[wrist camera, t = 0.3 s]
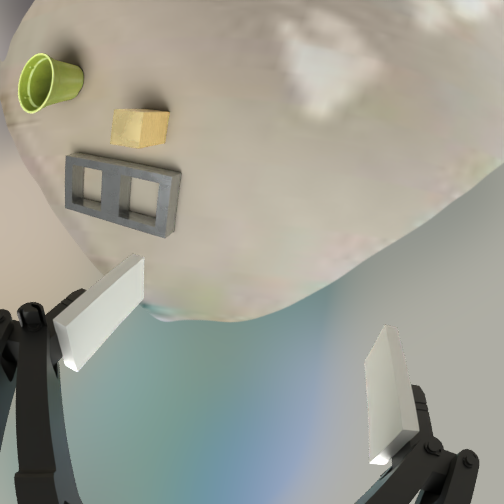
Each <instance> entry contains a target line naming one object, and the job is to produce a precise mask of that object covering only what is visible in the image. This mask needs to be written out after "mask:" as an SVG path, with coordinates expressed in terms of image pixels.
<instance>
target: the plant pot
mask: <svg viewBox="0 0 504 504" xmlns="http://www.w3.org/2000/svg"><path fill="white" fill-rule="evenodd" d="M82 85H83V72H82V70H81V69H80V68H79V67H78V66H76V65H72V64H69V63H65V62H61V61H57V60H54V59H53V58H51V57H49V56H48V55H47V54H44V53H39V54H36V55H34V56H33V57H32V58H31V59H29V61H28V62H27V63H26V65H25V66H24V68H23V70H22V73H21V76H20V79H19V85H18V97H19V101H20V104H21V107H22V108H23V110H24V111H26V112H27V113H36V112H38V111H39V110H41V109H42V108H44V107H46V106H48V105H51V104H55V103H58V102H62V101H67V100H71V99H73V98H75V97H76V96H77V95H78V92H79V91H80V89H81V88H82Z"/></svg>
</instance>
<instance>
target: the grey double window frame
mask: <svg viewBox="0 0 504 504" xmlns="http://www.w3.org/2000/svg"><path fill="white" fill-rule="evenodd" d="M84 167H87V168H92V169H97V170H102V190H101V203H99V202H96V201H92V200H89V199H85V198H83V186H84ZM131 177H134V178H139V179H143V180H148V181H152V182H156V183H159V191H158V201H157V211H156V218H153V217H150V216H146V215H143V214H139V213H136V212H132V211H129V203H130V189H131ZM180 180H181V173H180V172H175V171H171V170H166V169H161V168H157V167H152V166H147V165H142V164H137V163H132V162H127V161H122V160H116V159H111V158H106V157H100V156H94V155H89V154H83V153H74V154H70V155H67V156H66V164H65V208H67V209H70V210H74V211H77V212H80V213H83V214H87V215H90V216H93V217H96V218H99V219H103V220H106V221H109V222H113V223H116V224H119V225H122V226H126V227H129V228H132V229H135V230H139V231H142V232H145V233H149V234H152V235H155V236H159V237H162V238H166V237H167V236H169V235H170V234H171V233H172V232H174V227H175V218H176V210H177V202H178V194H179V187H180Z"/></svg>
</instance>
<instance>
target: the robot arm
mask: <svg viewBox="0 0 504 504" xmlns="http://www.w3.org/2000/svg"><path fill="white" fill-rule="evenodd" d="M143 299H144V257H143V256H140V255H136V254H133V253H132V254H131V255H130V256H129V257H127V258H126V259H125V260H123V261H122V262H121V263H120V264H118V265H117V266H116V267H115V268H113V269H112V270H111V271H110V272H108V273H107V274H106V275H105V276H104V277H103V278H101V279H100V280H99V281H98V282H96V283H95V284H94V285H93V286H91V287H90V288H89V289H88V290H85V289H79V290H77V291H74V292H72V293H71V294H70V295H69V296H68V297H67V298H66V299H64V300H63V301H61V303H59V304H58V305H57V306H55V307H54V308H53V309H52V310H51V311H50V312H48V313H47V314H46V315H45V313H44V309H43V306H42V305H41V304H39V303H36V302H30V303H26V304H24V305H22V306H21V307H20V308H19V309H18V311H17V314H18V318H19V321H16V320H12V317H11V314H10V312H9V311H7V310H4V309H0V450H1V445H2V440H3V435H4V431H5V426H6V422H7V418H8V414H9V410H10V406H11V402H12V399H13V395H14V392H15V388H16V435H17V450H18V462H19V471H18V472H17V473H15V477H14V480H15V489H16V496H17V501H18V504H83V503H82V501H81V499H80V497H79V494H78V491H77V487H76V483H75V478H74V474H73V469H72V465H71V460H70V454H69V449H68V443H67V437H66V430H65V423H64V415H63V406H62V396H61V384H60V369H59V363H58V361H59V360H60V359H61V358H62V357H63V360H64V363H65V365H66V366H68V367H69V368H71V369H73V370H74V371H76V372H78V371H79V370H80V369H81V368H82V367H83V365H84V364H85V363H86V362H87V361H88V359H89V358H90V357H91V356H92V355H93V354H94V352H96V350H97V349H98V348H99V347H100V346H101V345H102V344H103V343H104V341H105V340H106V339H107V338H108V337H109V336H110V334H112V332H113V331H114V330H115V329H116V328H117V327H118V326H119V325H120V324H121V323H122V321H123V320H124V319H125V318H126V317H127V316H128V315H129V314H130V313H131V312H132V310H133V309H134V308H135V307H136V306H137V305H138V304H139V303H140V302H141V301H142V300H143ZM364 363H365V375H366V389H367V405H368V424H369V425H368V426H369V463H372V464H386V463H387V462H388V461H389V460H390V459H391V458H392V466H391V467H390V468H389V469H388V470H387V471H385V472H384V473H383V474H382V475H381V478H380V479H379V480H378V481H377V482H376V483H375V484H374V485H373V486H372V487H371V488H370V489H369V490H368V491H367V492H366V493H365V494H364V495H363V496H362V497H361V498H360V499H359V500H358V501H357V502H356V503H355V504H409V503H410V502H411V500H412V499H413V498H414V496H415V495H416V494H417V493H418V491H419V490H420V489H421V490H420V492H419V495H418V497H417V500H416V502H415V504H470V503H471V499H472V495H473V491H474V487H475V483H476V479H477V474H478V469H479V459H478V456H477V455H476V454H475V453H474V452H473V451H472V450H469V449H465V450H462V451H461V452H459V453H458V454H454V453H451V452H449V451H446V450H444V449H443V445H442V443H441V442H440V441H439V440H438V439H437V438H435V437H434V436H433V432H432V427H431V422H430V417H429V412H428V407H427V405H426V398H425V394H424V393H423V391H422V389H421V388H420V386H417V385H411V382H410V378H409V373H408V368H407V364H406V360H405V355H404V352H403V347H402V344H401V340H400V336H399V332H398V328H397V327H394V326H390V325H386V324H385V325H384V327H383V329H382V330H381V332H380V334H379V336H378V338H377V340H376V342H375V344H374V345H373V347H372V349H371V351H370V353H369V355H368V356H367V358H366V360H365V362H364Z"/></svg>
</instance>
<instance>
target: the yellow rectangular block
mask: <svg viewBox="0 0 504 504" xmlns="http://www.w3.org/2000/svg"><path fill="white" fill-rule="evenodd" d="M169 114H170V112H166V111H158V110H149V109H116V110H114V115H113V123H112V132H111V141H110V144H113V145H120V146H126V147H132V148H138V149H139V148H144V147H148V146H153V145H158V144H163V143H165V139H166V133H167V127H168V120H169Z"/></svg>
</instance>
